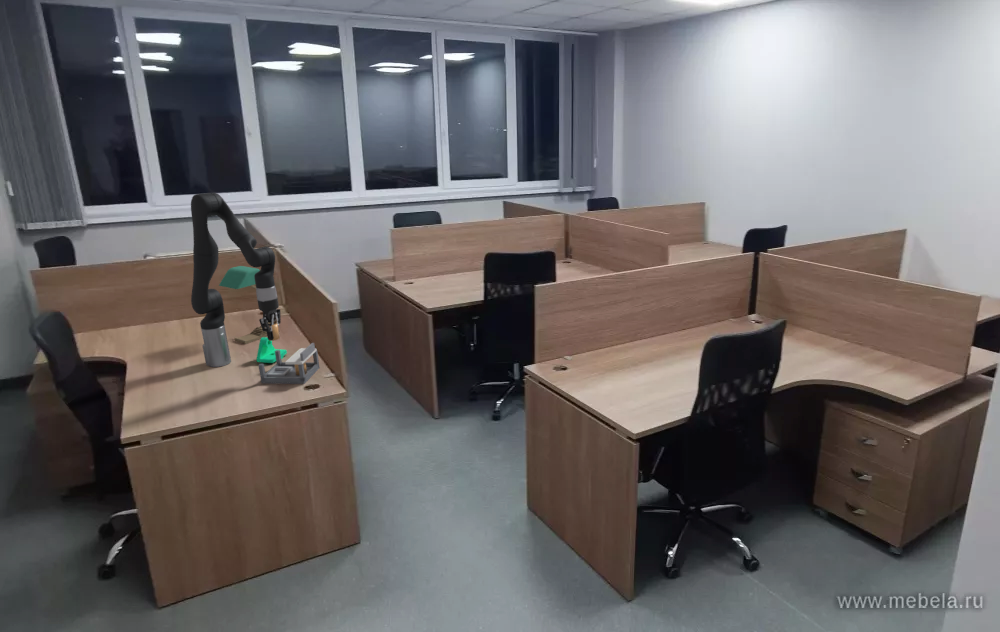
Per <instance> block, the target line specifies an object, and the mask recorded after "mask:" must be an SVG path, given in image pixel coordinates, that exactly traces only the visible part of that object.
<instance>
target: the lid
mask: <svg viewBox="0 0 1000 632" xmlns="http://www.w3.org/2000/svg"><path fill="white" fill-rule="evenodd" d="M316 351H317V352H318V350H317V348H316V347H315V342H311V343H310V344H309V345H308V346H306V347H300V348H299V349H298V350H297V351H295V352H294V353H293V354H292V355H291V356H290V357H289V358H288V359H286V361H284V362H285V364H298V365H302V364H303V363H304V362H307V361H308V359H309V358H311V357H313V354H314V353H315V352H316Z"/></svg>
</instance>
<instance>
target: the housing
mask: <svg viewBox="0 0 1000 632" xmlns="http://www.w3.org/2000/svg"><path fill="white" fill-rule="evenodd" d="M318 352H319V351H318V350H317V351H316V352H315V353H314V354H313V355H312V358H313V359H312V360H313V362H307V361H305V362H304V363H303V364H302V365H298V364H285V362H286V361H282V359H281V355H280V350H276V351H275V356H276V362H275V364H274V365H273V366H272V367H271V368H270V369H269V370H268V371H266V370H265V368H266V367H265V363H259V364H258V370H259V371H258V372H259V376H260V383H261V384H274V385H275V384H277V385H279V384H283V385H285V384H287V385H288V384H289V385H291V384H293V385H295V384H298V385H305V384H306V383H307V382H308V381H309V380H310V379H311V378H312V376H313V375H315V374H316V372H317V371H318V370H319V369H320V360H319V354H318Z"/></svg>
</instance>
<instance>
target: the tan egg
mask: <svg viewBox="0 0 1000 632" xmlns="http://www.w3.org/2000/svg"><path fill="white" fill-rule="evenodd" d="M269 328H270V326H269ZM278 329H279V326H278V324H277V323H273V326H272V331H273V336H274V339H273V340H270V341H272V342H273V341H277V340H280V337H281V336H280V329H279V330H278Z"/></svg>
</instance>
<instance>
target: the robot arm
mask: <svg viewBox="0 0 1000 632" xmlns="http://www.w3.org/2000/svg"><path fill="white" fill-rule="evenodd" d="M190 211H191V220H192V221H191V222H192V231H193V233H192V234H193V247H192V248H193V249H192V251H193V252H192V255H193V257H192V259H193V278H192V279H193V280H192V286H191V287H192V288H191V289H192V290H191V297H190V298H191V299H190V302H191V303H190V304H191V307H192V310H193V311H194V312H195V313H196V314H198V315H205V316H203V318H202V319H201V320H200V323H199V325H200V330H201V336H202V339H203V344H202V350H203V351H202V352H203V355H204V361H205V365H206V366H208V367H211V368H218V367H223V366H227V365H229V364H230V363H231V362H232V359H231V353H230V348H229V341H228V336H227V330H226V327H225V319H226V315H225V307H224V301H223V298H222V295H221V293H220V291H218V290H217V289H216V288H209V285H210V283H211V280H212V278H213V276H214V274H215V272H216V270H217V267H218V265H219V246H218V244H217V242H216V240H215V239H214V238H213V236H212V234H211V233H210V231H209V227H208V225H209V224H208V218H210V217H215V216H217V217H219V219H221V220H222V221H223V222H224V224H225V227H226V233H227V235H228V237H229V239H230V241H232V242H233V243H234V244H235V246H236V247H237V248H239V250H240V252H241V254H242V255H243V257H244V259H245V261H246V263H247V264H248V265H249V266H250V267H251V268H260V269H259V270H260V271H259V272H257V273H256V274H255V276H254V277H255V286H256V289H255V291H256V292H255V294H256V298H257V306H258V310H259V311H261V312H262V318H259V319H258V321H259V323H260V326H261V327H262V330H263V332H265V331H266V332H267V338H268V340H273V339H274V336H273V331H272V326H273V323H277V324H278V327H280V324H281V323H282V322H281V320H282V319H281V316H282V315H281V309H279V307H280V306H279V298H278V292H277V288H276V282H275V277H274V275H275V274H274V273H275V265H276V254H275V252H274V251H273V250H274V249H272V248H271V247H270V246H262V247H258V248H256V246H257V243H258V242H257V240H256V238H255V237H254V236H253V235H252V233H250V232H249V230H248V229H246V228H245V227H244V225H243V224H242V223H241V222H240V220H239V218H237V216H236V214H235V213H234V212H233V210H232V209H231V208H230V207H229V205H228V203H227V202H226V201H225V199H224V198H223V197H222V196H221V195H220V194H219V193H218V192H204V193H196V194H194V195H193V196H192V197H191V200H190ZM268 323H270V324H268ZM269 326H270V328H269ZM278 330H279V331H280V328H278Z"/></svg>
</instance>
